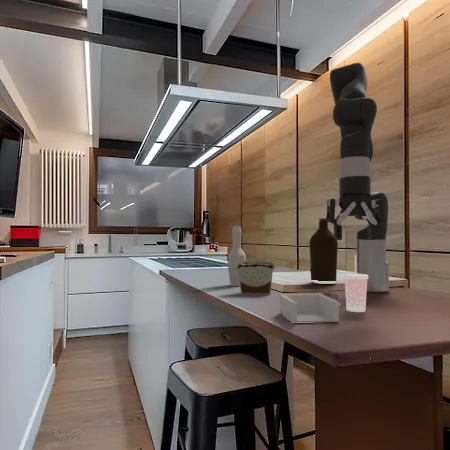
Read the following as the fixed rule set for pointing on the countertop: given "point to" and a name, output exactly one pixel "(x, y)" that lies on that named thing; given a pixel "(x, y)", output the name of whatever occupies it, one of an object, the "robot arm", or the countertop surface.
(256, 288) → the food container
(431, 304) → the countertop surface
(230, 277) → the faceted bottle
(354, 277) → the beverage cup
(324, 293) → the clip
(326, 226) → the olive oil
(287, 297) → the tray
